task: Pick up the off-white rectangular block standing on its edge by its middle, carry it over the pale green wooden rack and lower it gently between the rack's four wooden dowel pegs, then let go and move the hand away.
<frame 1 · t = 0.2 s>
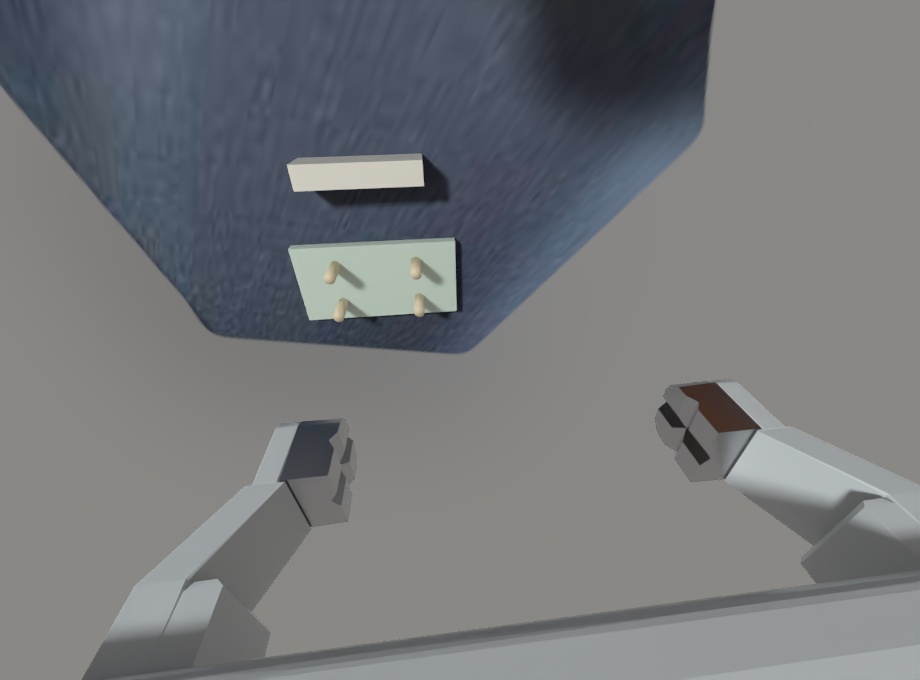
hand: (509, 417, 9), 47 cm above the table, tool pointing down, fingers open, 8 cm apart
strip rack: (379, 278, 57), on the table
off-white rectangular block: (362, 168, 48), on the table
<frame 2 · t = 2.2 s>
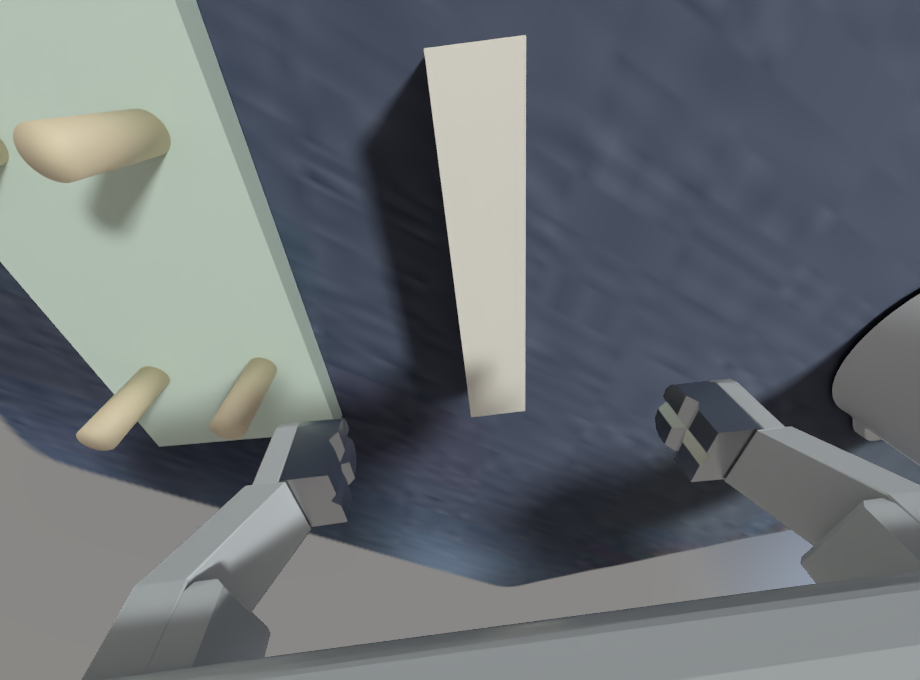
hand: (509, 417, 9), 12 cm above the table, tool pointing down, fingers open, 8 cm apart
strip rack: (169, 266, 19), on the table
off-white rectangular block: (477, 241, 19), on the table
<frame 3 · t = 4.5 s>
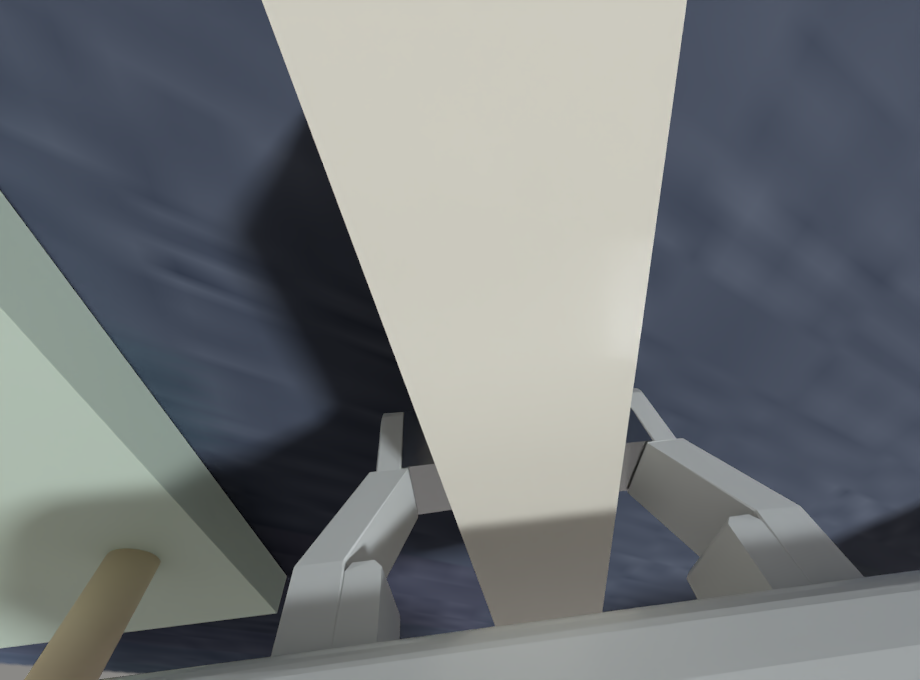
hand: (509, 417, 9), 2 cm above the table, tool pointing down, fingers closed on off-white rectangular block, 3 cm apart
off-white rectangular block: (494, 361, 11), on the table, touching gripper
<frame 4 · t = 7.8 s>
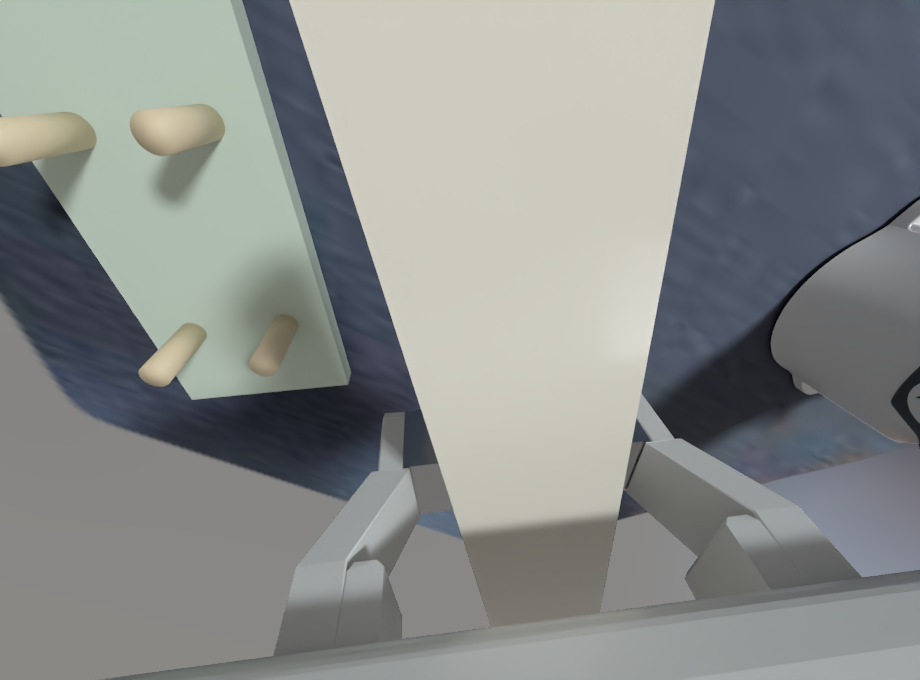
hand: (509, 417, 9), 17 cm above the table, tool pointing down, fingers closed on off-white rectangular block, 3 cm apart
strip rack: (211, 235, 23), on the table
off-white rectangular block: (495, 363, 11), point 15 cm above the table, touching gripper
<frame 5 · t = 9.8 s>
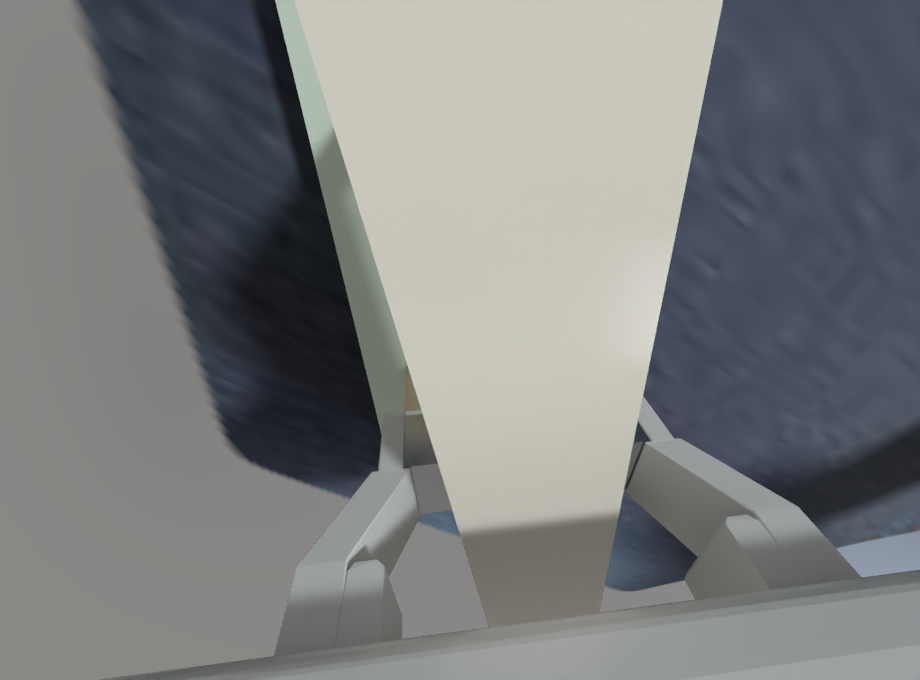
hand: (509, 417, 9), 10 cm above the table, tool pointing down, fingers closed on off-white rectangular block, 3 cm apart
strip rack: (474, 249, 17), on the table
off-white rectangular block: (494, 363, 11), point 8 cm above the table, touching gripper
when the fingers open (5 cm above the table, at t = 11.1 s): off-white rectangular block drops 1 cm, resting on strip rack.
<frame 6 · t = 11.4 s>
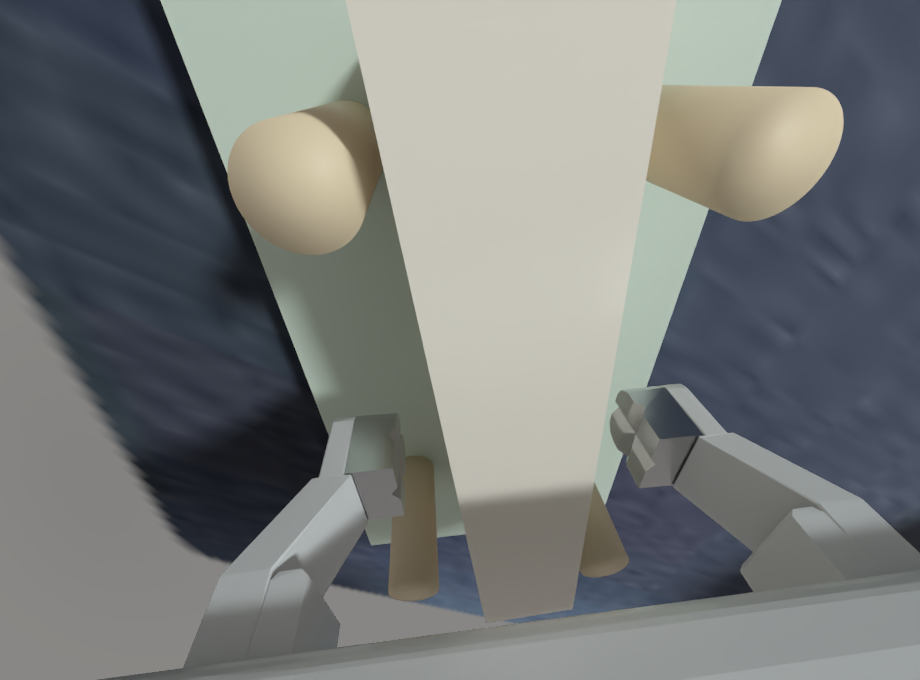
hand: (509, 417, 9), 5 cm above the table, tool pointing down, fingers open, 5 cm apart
strip rack: (481, 320, 13), on the table
off-white rectangular block: (488, 343, 12), point 1 cm above the table, touching strip rack
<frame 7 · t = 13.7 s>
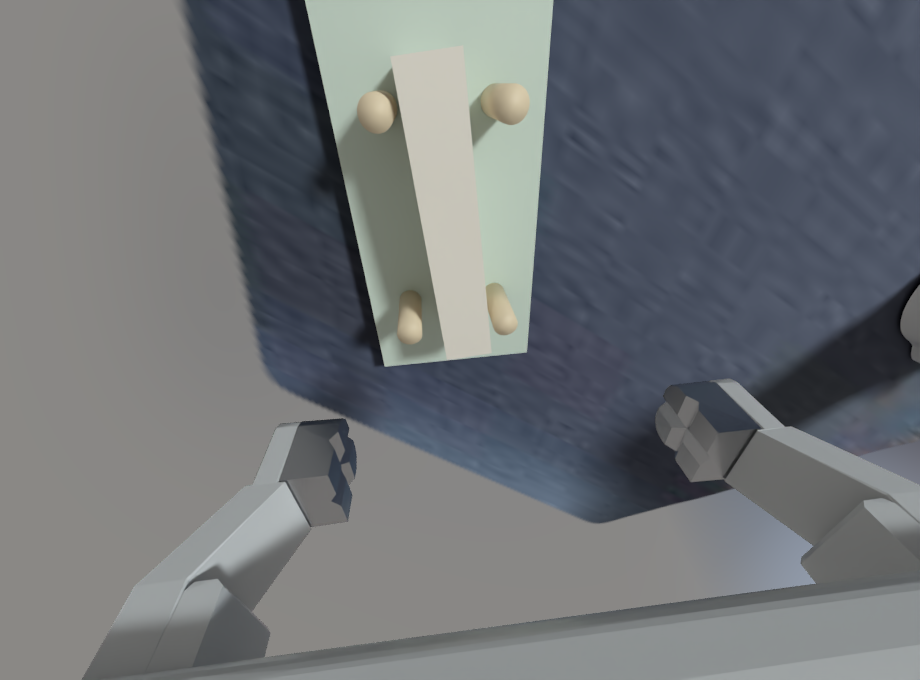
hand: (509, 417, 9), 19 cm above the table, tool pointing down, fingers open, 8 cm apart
strip rack: (445, 208, 25), on the table
off-white rectangular block: (446, 213, 23), point 1 cm above the table, touching strip rack
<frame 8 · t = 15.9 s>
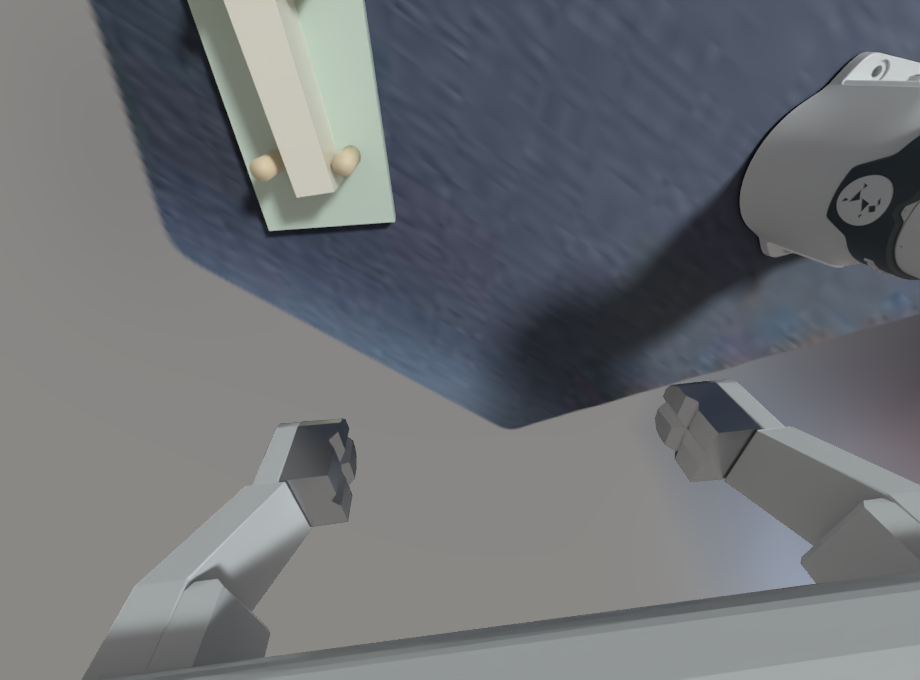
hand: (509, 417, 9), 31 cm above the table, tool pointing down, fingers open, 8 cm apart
strip rack: (299, 72, 29), on the table
off-white rectangular block: (293, 70, 28), point 1 cm above the table, touching strip rack
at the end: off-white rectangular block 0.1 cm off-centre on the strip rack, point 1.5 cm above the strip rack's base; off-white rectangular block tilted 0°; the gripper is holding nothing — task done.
